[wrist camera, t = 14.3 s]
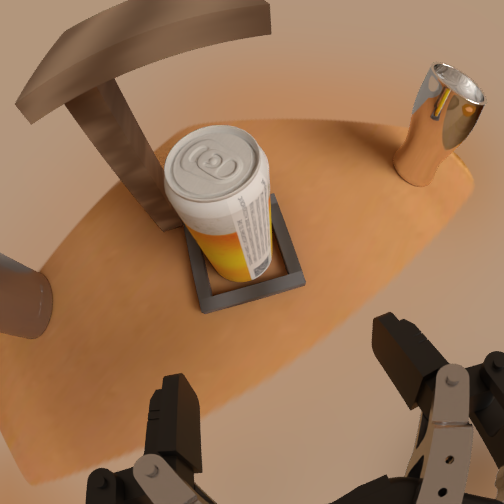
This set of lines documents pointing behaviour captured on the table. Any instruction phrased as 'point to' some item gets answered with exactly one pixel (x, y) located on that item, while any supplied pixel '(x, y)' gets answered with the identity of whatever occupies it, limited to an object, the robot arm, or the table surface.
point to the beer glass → (438, 122)
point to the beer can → (223, 198)
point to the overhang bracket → (123, 121)
